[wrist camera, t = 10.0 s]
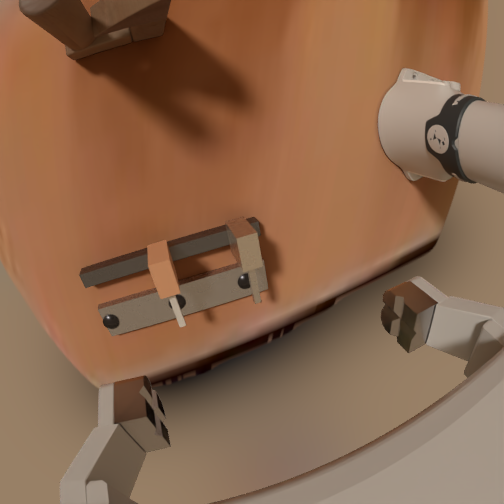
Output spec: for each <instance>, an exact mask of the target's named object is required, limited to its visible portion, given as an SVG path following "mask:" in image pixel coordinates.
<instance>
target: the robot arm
mask: <svg viewBox="0 0 504 504" xmlns="http://www.w3.org/2000/svg"><path fill="white" fill-rule="evenodd" d="M378 131H379V137H380V141H381V144H382V147H383V149H384V151H385V153H386V155H387V156H388V157H389V159H390V160H391V161H392V162H394V163H395V164H396V165H398V166H399V167H400V168H401V169H402V170H403V172H404V174H405V176H406V177H407V179H408V180H411V181H416V180H418V179H420V178H422V177H423V176H424V177H427V178H431V179H434V180H438V181H441V182H446V181H447V180H449V179H451V178H452V177H455V178H457V179H459V180H461V181H464V182H469V183H480V184H483V185H485V186H487V187H490V188H492V189H494V190H497V191H499V192H501V193H504V104H499V103H492V102H486V101H485V100H484V99H482V98H479V97H477V96H474V95H469V94H466V95H465V94H463V93H461V92H460V83H457V82H452V81H442V80H439V79H437V78H434V77H432V76H429V75H426V74H424V73H421V72H418V71H415V70H412V69H408V68H404V69H402V70H401V72H400V74H399V77H398V80H397V82H396V83H395V85H394V86H393V87H392V88H391V89H390V90H389V91H388V92H387V93H386V95H385V97H384V99H383V101H382V103H381V106H380V110H379V116H378ZM383 302H384V303H385V306H384V307H383V309H382V311H381V320H382V324H383V326H384V328H385V330H386V331H387V332H388V333H389V334H390V335H394V336H397V342H398V343H399V344H400V345H401V346H402V347H403V348H404V349H405V350H406V351H407V352H408V353H410V352H412V351H414V350H415V349H417V348H419V347H421V346H422V345H424V344H426V345H428V346H431V347H433V348H435V349H438V350H441V351H443V352H446V353H448V354H451V355H453V356H456V357H458V358H461V359H464V360H466V361H468V364H467V366H466V368H465V370H464V374H465V376H466V377H467V379H466V380H464V381H463V382H462V383H461V384H459V385H458V386H457V387H455V388H454V389H453V390H452V391H450V392H449V393H447V394H446V395H444V396H443V397H442V398H440V399H439V400H438V401H436V402H435V403H433V404H432V405H430V406H429V407H428V408H426V409H424V410H423V411H421V412H420V413H418V414H417V415H416V416H414V417H412V418H411V419H409V420H407V421H406V422H404V423H403V424H401V425H399V426H398V427H396V428H394V429H393V430H391V431H389V432H387V433H386V434H384V435H382V436H380V437H379V438H377V439H375V440H374V441H372V442H370V443H368V444H366V445H364V446H362V447H360V448H358V449H356V450H354V451H352V452H350V453H348V454H346V455H344V456H342V457H340V458H338V459H336V460H333V461H331V462H329V463H327V464H325V465H322V466H320V467H318V468H316V469H313V470H311V471H308V472H306V473H303V474H301V475H298V476H296V477H293V478H291V479H288V480H285V481H283V482H280V483H277V484H274V485H271V486H268V487H265V488H262V489H259V490H256V491H253V492H250V493H246V494H243V495H239V496H236V497H232V498H229V499H225V500H221V501H217V502H213V503H209V504H504V308H503V307H499V306H494V305H490V304H485V303H481V302H476V301H472V300H467V299H462V298H458V297H453V296H450V297H447V296H446V295H444V294H443V293H442V292H441V291H439V290H438V289H437V288H435V287H434V286H433V285H431V284H430V283H429V282H427V281H426V280H425V279H423V278H422V277H419V276H416V277H414V278H412V279H410V280H408V281H406V282H404V283H402V284H400V285H397V286H395V287H393V288H391V289H389V290H387V291H385V293H384V294H383ZM165 419H166V417H165V412H164V408H163V405H162V402H161V400H160V398H159V396H158V394H157V392H156V391H153V390H152V389H151V383H150V381H149V380H148V378H147V376H140V377H136V378H131V379H126V380H122V381H117V382H114V383H109V384H104V385H101V386H100V388H99V405H98V427H97V428H94V429H93V430H92V432H91V434H90V435H89V437H88V438H87V440H86V441H85V443H84V445H83V446H82V448H81V449H80V451H79V452H78V454H77V455H76V457H75V459H74V460H73V462H72V463H71V465H70V467H69V468H68V470H67V471H66V473H65V475H64V476H63V478H62V480H61V481H60V504H138V503H136V502H134V501H133V500H131V499H130V498H129V497H130V495H131V492H132V490H133V487H134V484H135V482H136V479H137V477H138V474H139V471H140V469H141V467H142V464H143V461H144V459H145V456H146V452H151V451H155V450H159V449H163V448H167V447H170V440H169V434H168V429H167V428H166V427H165V425H164V424H163V422H164V420H165Z"/></svg>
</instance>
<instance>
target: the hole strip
mask: <svg viewBox="0 0 504 504" xmlns="http://www.w3.org/2000/svg"><path fill="white" fill-rule="evenodd" d="M262 263H263V267H260V268H256V269H255V271H256V277H257V282H258V287H259V292H261V291H264V290H267V289H268V283H267V277H266V271H265V265H264V260H263V258H262ZM178 283H179V288H180V292H181V293H180V294H177V295H176V298H177V301H178V304H179V306H180V309H181V312H182V314H183V316H184V315H188V314H191V313H194V312H197V311H201V310H204V309H207V308H210V307H214V306H217V305H220V304H223V303H226V302H230V301H233V300H236V299H239V298H242V297H245V296H248V295H251V294H252V292H251V287H250V282H249V277H248V272H244V273H243V271H242V269H241V268H240V266H239V264H238V263H236V264H233V265H229V266H226V267H223V268H219V269H216V270H213V271H209V272H206V273H203V274H200V275H196V276H193V277H190V278H186V279H183V280H180V281H178ZM98 311H99V313H100V315H101V317H102V319H103V324H104V326H105V327H107V328H108V330H109V332H110V334H111V335H112V336H115V335H119V334H122V333H126V332H129V331H133V330H136V329H140V328H143V327H147V326H150V325H154V324H157V323H161V322H164V321H168V320H171V319H174V318H176V316H175V313H174V311H173V308H172V305H171V303H170V300H169V298H168V297H167V298H163V299H160V297H159V294H158V291H157V289H156V288H153V289H150V290H146V291H143V292H140V293H136V294H133V295H130V296H126V297H123V298H120V299H116V300H113V301H109V302H106V303H103V304H99V306H98Z"/></svg>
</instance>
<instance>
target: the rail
mask: <svg viewBox="0 0 504 504" xmlns="http://www.w3.org/2000/svg"><path fill="white" fill-rule="evenodd" d="M260 235H261V234H260V228H259V222H258V220H257V219H256V218H255V217H252V218H248V219H245V218H244V217H240V218H236V219H232V220H229V221H225V225H223V226H219V227H216V228H212V229H209V230H205V231H202V232H199V233H195V234H192V235H188V236H185V237H181V238H178V239H175V240H171V241H168V242H167V244H168V247H169V251H170V254H171V257H172V260H173V261H176V260H179V259H182V258H186V257H189V256H192V255H196V254H199V253H202V252H206V251H209V250H213V249H216V248H219V247H223V246H226V245H230V248H231V252H232V254H233V256H234V257H235V259H236V261H237V263H238V264H239V266H240V268H241V269H242V271H243V273H244V272H248V277H249V282H250V287H251V292H252V297H253V301H254V303H255V304H256V303H259V302H261V298H260V293H259V287H258V282H257V277H256V271H255V269H256V268H260V267H263V263H262V257H261V251H260V245H259V240H258V236H260ZM146 269H149V267H148V251H147V248H145V249H142V250H138V251H135V252H132V253H129V254H125V255H122V256H119V257H116V258H113V259H110V260H106V261H103V262H100V263H97V264H94V265H91V266H88V267H85V268H82V269H81V272H80V278H81V280H82V282H83V284H84V286H85V288H87V287H90V286H94V285H97V284H100V283H103V282H107V281H110V280H113V279H116V278H120V277H123V276H126V275H129V274H133V273H136V272H139V271H143V270H146Z"/></svg>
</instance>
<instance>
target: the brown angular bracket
mask: <svg viewBox="0 0 504 504" xmlns="http://www.w3.org/2000/svg"><path fill="white" fill-rule="evenodd" d="M170 2H171V0H100V1H99V2H97V3H96V4H94V5H93V6H92V7H91V8H90V10H91V17H90V15H89V14H88V12H87V10H86V9H85V7H84V6H83V4H82V2H81V1H80V0H19V8H20V11H21V12H22V13H23V14H24V15H25V16H26V17H28V18H29V19H31V20H32V21H33V22H35V23H36V24H38V25H39V26H40V27H42V28H43V29H44V30H46V31H47V32H48V33H50V34H51V35H52V36H54V37H55V38H56V39H58V40H59V41H60V42H62V43H63V44H64V45H65V47H66V54H67V56H68V57H70V58H71V59H73V60H78V59H80V58H83V57H86V56H89V55H92V54H95V53H98V52H101V51H104V50H108V49H111V48H114V47H118V46H121V45H125V44H129V43H131V42H132V40H133V41H135V42H136V41H140V40H144V39H149V38H153V37H157V36H161V35H163V32H164V27H165V23H166V19H167V15H168V10H169V6H170Z"/></svg>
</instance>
